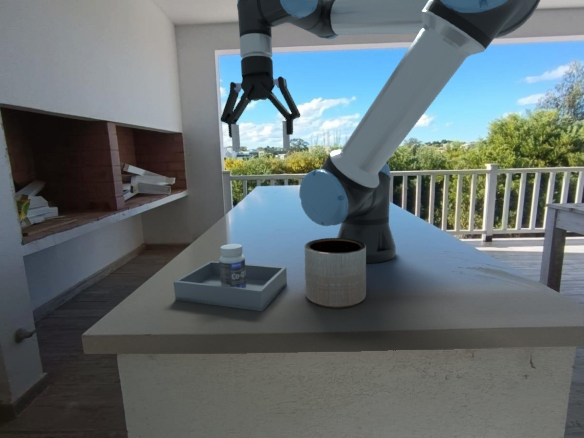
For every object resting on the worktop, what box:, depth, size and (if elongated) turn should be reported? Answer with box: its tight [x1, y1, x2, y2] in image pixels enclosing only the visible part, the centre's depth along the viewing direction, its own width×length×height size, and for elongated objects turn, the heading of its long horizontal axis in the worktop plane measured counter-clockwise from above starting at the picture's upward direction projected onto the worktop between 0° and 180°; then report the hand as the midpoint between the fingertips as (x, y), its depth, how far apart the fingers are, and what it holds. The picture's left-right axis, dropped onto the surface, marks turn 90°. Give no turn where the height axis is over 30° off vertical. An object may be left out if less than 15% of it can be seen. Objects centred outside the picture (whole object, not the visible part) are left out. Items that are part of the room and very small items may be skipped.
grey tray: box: [173, 260, 288, 312], centre depth 64 cm, size 17×12×4 cm
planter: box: [304, 237, 367, 309], centre depth 60 cm, size 11×11×10 cm
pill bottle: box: [218, 243, 246, 288], centre depth 63 cm, size 5×5×8 cm
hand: (261, 150), depth 83 cm, fingers open, 13 cm apart
